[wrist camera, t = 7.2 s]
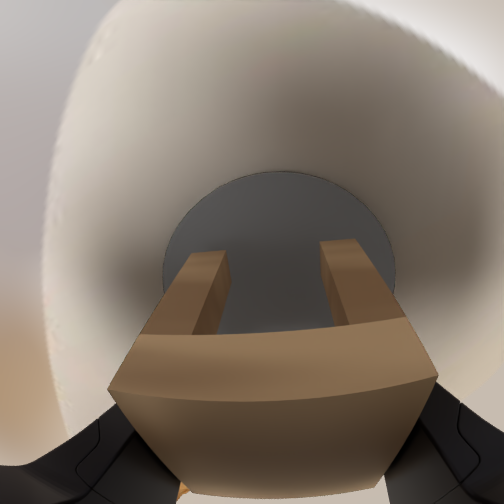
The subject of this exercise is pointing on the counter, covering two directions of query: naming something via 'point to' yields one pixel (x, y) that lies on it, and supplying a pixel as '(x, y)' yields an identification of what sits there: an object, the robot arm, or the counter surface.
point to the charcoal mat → (276, 247)
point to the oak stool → (276, 385)
